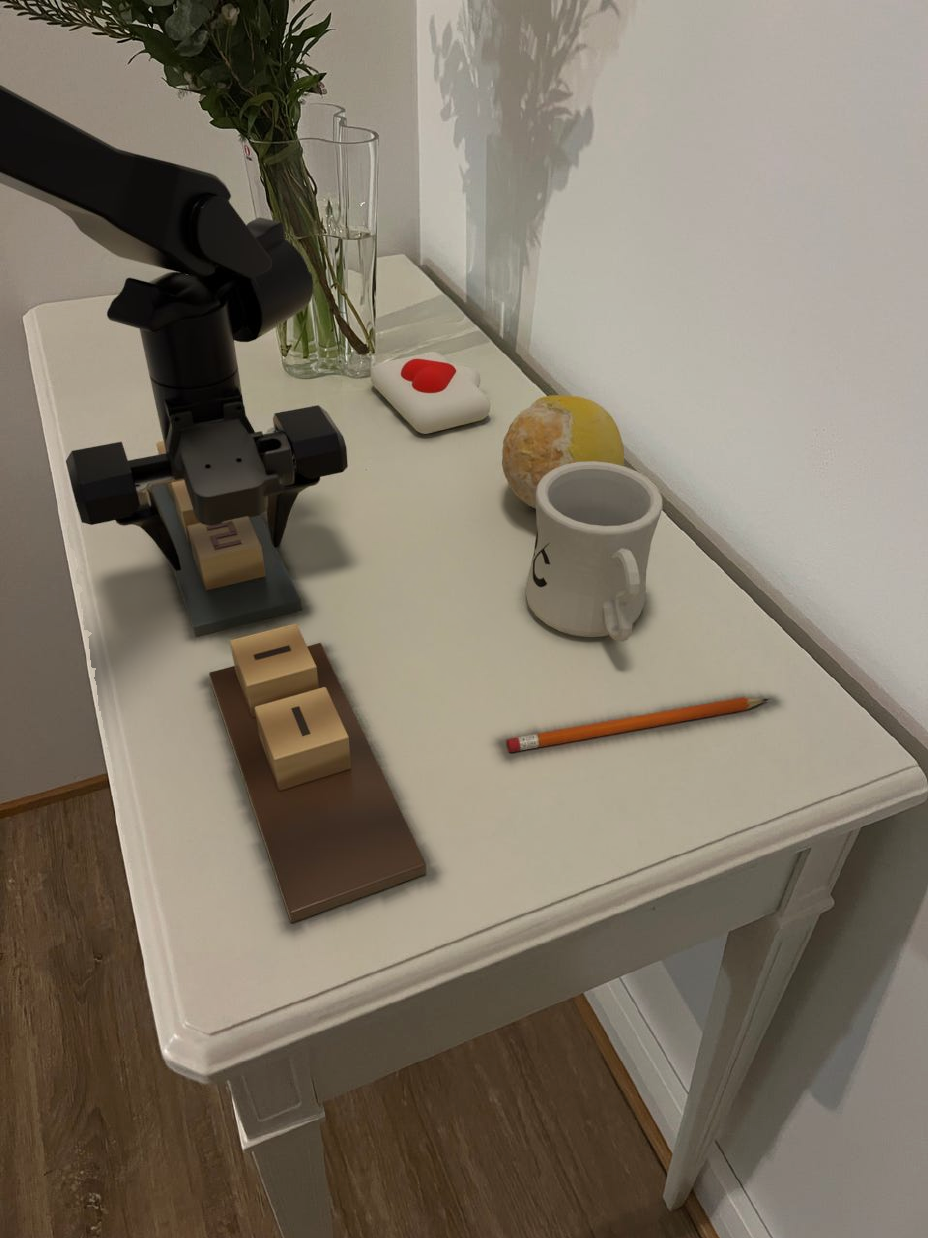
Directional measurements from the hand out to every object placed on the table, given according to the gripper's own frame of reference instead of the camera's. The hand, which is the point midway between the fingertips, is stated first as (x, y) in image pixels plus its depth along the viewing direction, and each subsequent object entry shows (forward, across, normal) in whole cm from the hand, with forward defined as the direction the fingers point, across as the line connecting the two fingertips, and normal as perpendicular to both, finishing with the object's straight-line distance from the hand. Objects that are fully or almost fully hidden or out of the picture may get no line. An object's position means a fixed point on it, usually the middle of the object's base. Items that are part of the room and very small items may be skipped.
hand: (227, 555), depth 72 cm
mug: (+2, +24, -15) cm, 28 cm away
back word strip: (+2, 0, +5) cm, 5 cm away
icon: (+2, +26, +20) cm, 33 cm away
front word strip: (+2, 0, -21) cm, 21 cm away
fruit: (+2, +28, -1) cm, 28 cm away
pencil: (+2, +22, -26) cm, 34 cm away
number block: (+1, 0, 0) cm, 1 cm away
